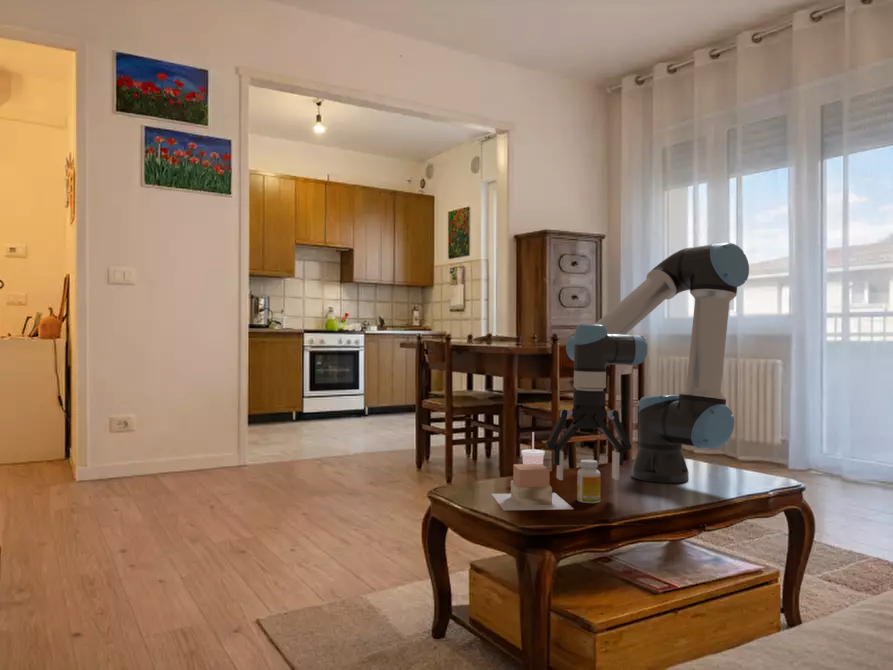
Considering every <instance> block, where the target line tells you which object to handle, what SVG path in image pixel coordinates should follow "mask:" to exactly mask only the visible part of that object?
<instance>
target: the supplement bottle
mask: <svg viewBox="0 0 893 670" xmlns="http://www.w3.org/2000/svg"><path fill="white" fill-rule="evenodd" d="M579 461H580V467H581V468H580V469H578V471H577V475H576V476H577V477H576V478H577V479H576V481H577V482H576V483H577V484H576V487H577V491H576V493H577V494H576V499H577V501H578V502H580V503H585V504H586V503H587V504H596V503H600V502H601V472H600V471H599V469H597V468H598V466H599V465H598V460H595V459H581V460H579Z"/></svg>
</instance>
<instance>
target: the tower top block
mask: <svg viewBox="0 0 893 670" xmlns="http://www.w3.org/2000/svg"><path fill="white" fill-rule="evenodd" d="M512 469H513V480H512V481H514V482H515V483H516V484H517V485H518V486H519V487H549V485H550V481H551V480H550V476H551V475H550V468H548V467H547V466H545V464H544V463H543V464H523V463H522V464H521V463H520V464H519V463H518V464H513V467H512Z"/></svg>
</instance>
